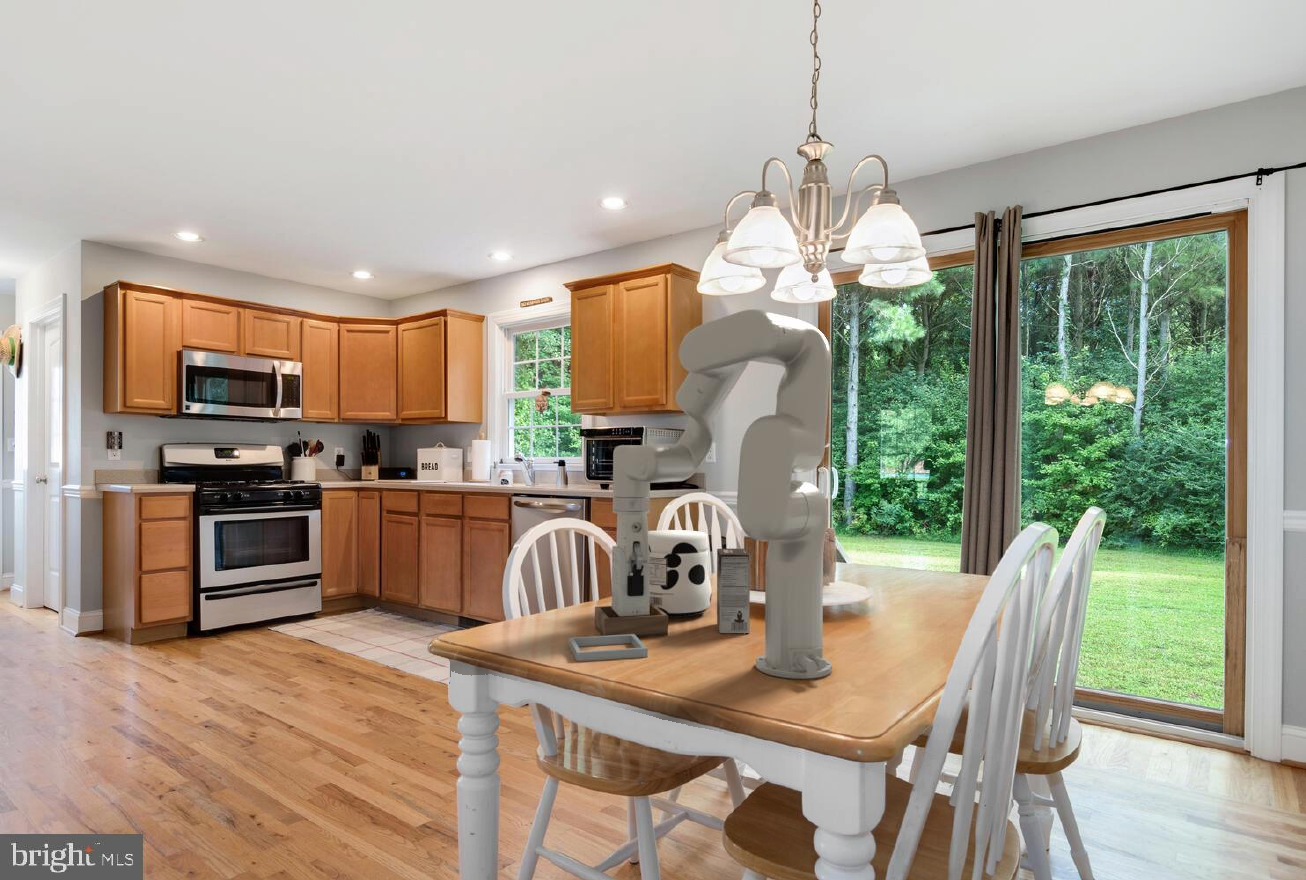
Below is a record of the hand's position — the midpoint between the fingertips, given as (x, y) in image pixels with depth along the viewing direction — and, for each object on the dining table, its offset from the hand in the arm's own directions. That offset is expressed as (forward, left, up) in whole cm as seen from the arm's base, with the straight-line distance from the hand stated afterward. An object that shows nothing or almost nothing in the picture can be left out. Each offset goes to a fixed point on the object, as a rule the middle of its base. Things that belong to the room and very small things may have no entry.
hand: (630, 591), depth 151 cm
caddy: (0, 0, -8) cm, 8 cm away
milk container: (+14, -13, -8) cm, 21 cm away
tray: (-14, +7, -8) cm, 18 cm away
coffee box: (-3, -21, -8) cm, 23 cm away
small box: (0, 0, -4) cm, 4 cm away
